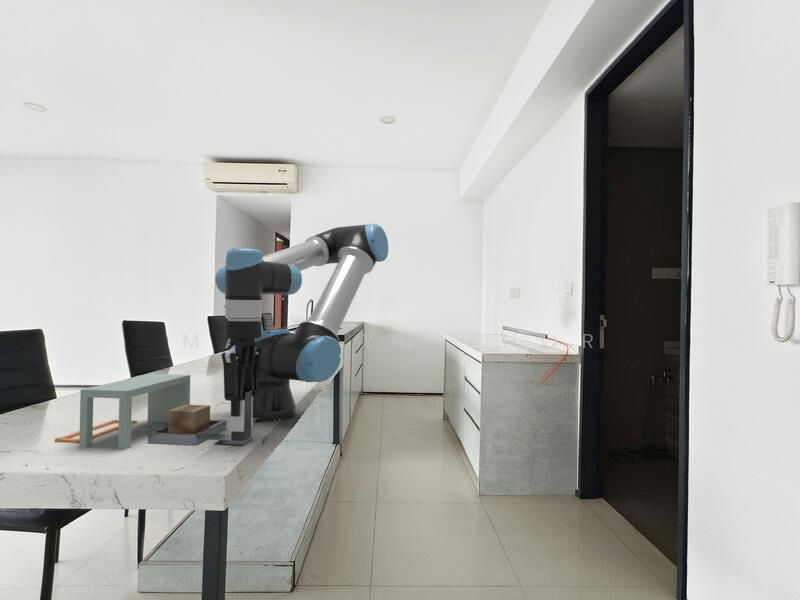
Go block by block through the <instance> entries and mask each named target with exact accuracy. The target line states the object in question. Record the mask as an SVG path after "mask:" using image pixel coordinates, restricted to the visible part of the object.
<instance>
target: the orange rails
mask: <svg viewBox="0 0 800 600" xmlns="http://www.w3.org/2000/svg"><path fill="white" fill-rule="evenodd" d="M137 423H138V420H132V419H131V426H132V425H136V424H137ZM114 424H119V419H112V420H110V421H106V422H104V423H101V424H97V425H93V431H96V430H99V429H102V428H104V427H108V426H111V425H114ZM116 431H119V425H117V426H113V427H110V428H108V429H106V430H102V431H99V432H96V433H94V434H93V435H92V440H94V439H96V438H99V437H102V436H105V435H107V434H110V433H113V432H116ZM78 436H80V430H79V431H76V432H73V433H70V434H67V435H63V436H61V437H57V438H55V439H54V442H55V443H65V444H67V443H69V444H71V443H72V444H79V438H77V437H78Z"/></svg>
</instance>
